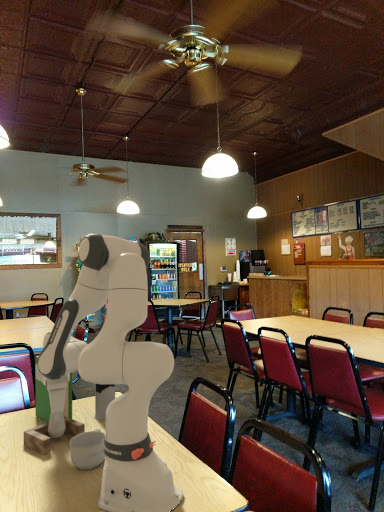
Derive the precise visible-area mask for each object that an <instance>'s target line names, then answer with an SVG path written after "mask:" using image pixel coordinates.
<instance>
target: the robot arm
mask: <svg viewBox="0 0 384 512" xmlns="http://www.w3.org/2000/svg"><path fill="white" fill-rule="evenodd" d="M150 257H151V256H150V252H149V249H148V247H147V246H146V245H144V244H143V243H140V242H138V241H133V240H130V239H126V238H122V237H120V236H114V235H107V234H100V233H88V234H86V235H85V236H84V237H83V238H82V239H81V241H80V243H79V248H78V260H79V262H80V263H81V264H82V266H81V268H80V271H79V275H78V277H77V281H76V284H75V287H74V289H73V290H72V293H71V294H70V296H69V298H68V299H66V301H65V303H64V304H63V305H62V307H61V308H60V310H59V313H58V314H57V317H56V320H55V322H54V325H53V327H52V329H51V331H48V332H47V333H46V334H45V335H44V337H43V342H42V349H41V351H40V353H39V355H38V356H39V358H38V369H39V371H40V373H41V374H42V375H43V384H44V385H45V386H46V388H47V390H48V392H49V396H50V404H51V411H52V413H53V414H54V421H59V420H60V413H61V412H63V411H64V404H65V393H66V388H67V387H68V382H69V381H70V373H71V372H72V373H74V372H76V371H77V372H78V374H79V377H80V378H81V379H82V380H83V382H85V383H86V382H87V383H90V384H93V383H95V385H96V384H115V385H127V387H128V390H127V391H126V392H124V393H123V394H121V395H119V396H118V397H117V396H116V397H115V399H114V400H113V401H111V402H110V404H109V405H108V407H107V409H106V420H105V434H106V436H105V438H104V453H105V455H106V456H105V458H104V464H103V469H102V479H101V487H100V490H99V499H98V502H97V503H98V504H97V507H98V509H101V510H104V511H107V512H169V511H170V510H172V509H173V508H175V507H176V506H177V505H178V504H179V505H180V504H181V502H182V501H181V500H183V497H184V491H183V490H182V489H181V488H179V487H178V486H176V485H175V483H174V477H173V474H172V471H171V469H169V467H168V465H167V463H166V462H165V461H163V460H162V459H161V457H159V455H158V454H157V453H156V452H155V450H154V446H156V445H157V444H156V440H153V441H152V439H151V436H150V434H149V432H148V431H149V429H148V424H149V408H150V404H151V400H152V397H153V396H154V394H155V393H156V391H157V390H158V388H159V387H160V386H161V385H162V384H163V383H165V382H166V381H167V380H168V379H169V378H170V376H172V373H173V370H174V367H175V357H174V353H173V352H172V350H171V348H170V347H169V346H168V345H167V344H164V343H161V342H154V341H126V336H127V334H128V333H129V332H131V331H132V330H134V329H136V328H138V327H139V326H141V325H143V324H144V323H145V322H146V319H147V318H148V302H149V300H148V299H149V298H148V297H149V296H148V294H149V287H148V285H149V284H148V273H147V268H148V266H149V264H150ZM106 303H107V307H106V313H105V319H104V323H103V325H102V327H101V329H100V330H99V332H98V334H97V335H96V337H94V339H93V340H92V341H90V342H89V343H87V342H86V341H84V340H81V339H78V338H76V337H74V336H72V335H73V331H74V330H75V328H76V326H77V325H78V324H79V323H80V322H81V321H82V320H84V319H85V318H86V317H88V316H89V315H91V314H94V313H95V312H97V311H99V310H100V309H102V308H103V307H104V306H105V304H106ZM180 501H181V502H180ZM179 505H178V506H179ZM178 506H177V507H178ZM177 507H176V508H177ZM176 508H175V509H176Z"/></svg>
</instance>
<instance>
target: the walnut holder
mask: <svg viewBox="0 0 384 512" xmlns="http://www.w3.org/2000/svg"><path fill="white" fill-rule="evenodd" d="M64 421H65V426H66V427H65V431H64V434H65V435H68V436H70V437H71V438H73V437H74V436H76V435H78V434H81V433H84V432H86V430H85V423H84V422H82V421H78V420H75V419H73V418H72V419H70V418H68V417H65V416H64ZM48 426H49V422H48V423H45V422H44V423H43V424H40V425H38V426H35V427H31V428H30V429H27V430H24V431H23V446H25V447H27V448H29V449H30V450H33V451H35V452H37V453H38V454H41V455H43V456H45V455H47V454H49V453H51V452H52V451H51V450H52V449H51V446H52V445H51V442H52V441H51V440H52V439H51V438H52V437H50V435H49V433H48Z"/></svg>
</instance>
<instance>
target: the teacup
mask: <svg viewBox="0 0 384 512" xmlns="http://www.w3.org/2000/svg"><path fill="white" fill-rule="evenodd" d="M105 436H106V432H103V431H102V430H101V429H100V428H95V429H94V430H89V431H85V432H84V433H81V434H78V435H76V436H74V437H71V439H70V440H69V443H68V444H69V452H70V453H69V454H70V460H71V463H72V464H73V466H74V467H76V468H77V469H80V470H84V471H85V470H86V471H87V470H91V469H95V468H97V467H98V466H99V465H101V463H102V462H103V461H105V456H106V455H105V453H104V438H105Z"/></svg>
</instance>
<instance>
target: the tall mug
mask: <svg viewBox="0 0 384 512" xmlns="http://www.w3.org/2000/svg"><path fill="white" fill-rule="evenodd" d="M115 385H116V384H95V383H92V387H93V388H92V389H93V394H94V399H95V401H94V403H95V405H94V407H95V408H94V409H95V413H94V417H93V418H94V419H95V420H97V421H104V422H106V409H107V407H108V405H109V404H110V402H111V401H113V400H114V399H115V398H116V387H115Z"/></svg>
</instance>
